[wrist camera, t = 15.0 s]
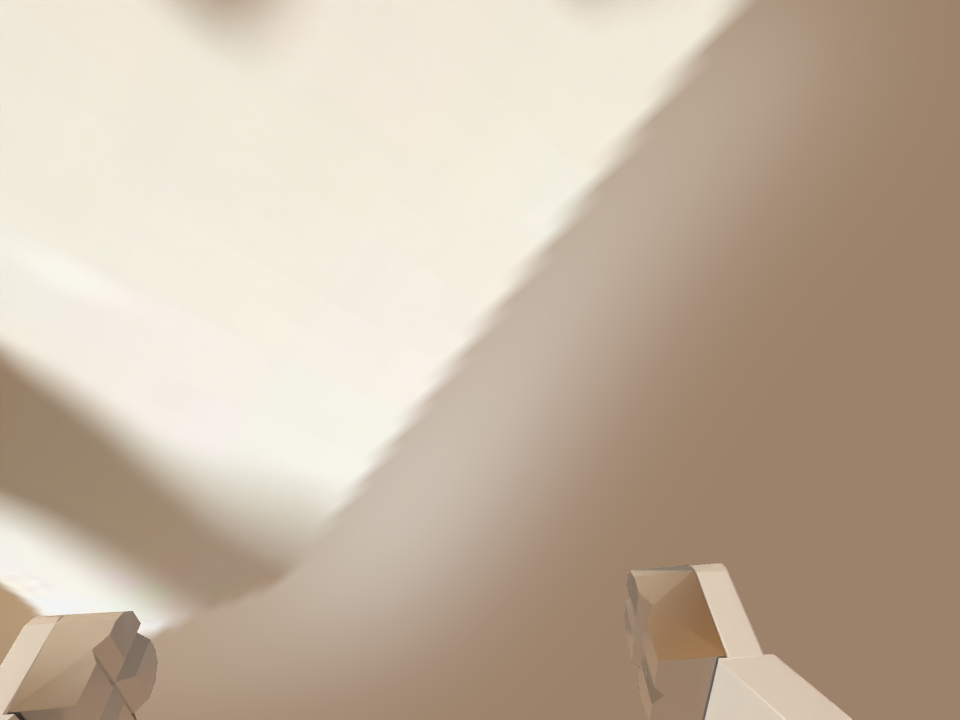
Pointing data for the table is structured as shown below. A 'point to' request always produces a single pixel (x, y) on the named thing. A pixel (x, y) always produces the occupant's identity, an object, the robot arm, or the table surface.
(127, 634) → the robot arm
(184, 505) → the table surface
